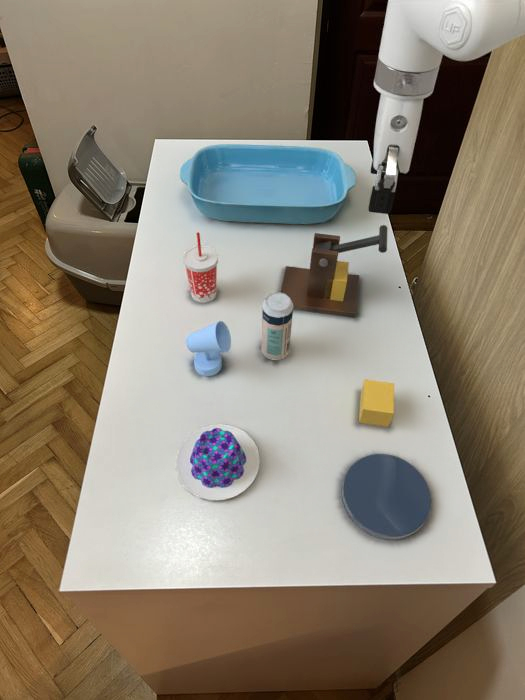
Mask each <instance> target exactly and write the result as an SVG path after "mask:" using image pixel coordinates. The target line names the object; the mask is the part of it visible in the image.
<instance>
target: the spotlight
mask: <svg viewBox="0 0 525 700" xmlns="http://www.w3.org/2000/svg"><path fill="white" fill-rule="evenodd" d="M185 338H186V339H185V343H186V347H187V349H188V351H189V352H190V353H195V355H194V357H193V364H194V370H195V372H196V373H197V374H199V375H200V376H203V377H213V376H215V375H217V374H218V373H219V372H220V371H221V370H222V366H223V362H222V355H221V353H224V354H226V353H228V352H230V350H231V346H232V337H231V332H230V330H229V327H228V325H227V324H226V323H225V322H224V321H223V320H219V321H217V322H215V323H211V324H209V325H207V326H205V327H202V328H201V329H199V330H198V329H197V330H196V331H194V332H192V333H189V334H187V335H186V337H185Z"/></svg>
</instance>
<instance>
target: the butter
mask: <svg viewBox="0 0 525 700" xmlns="http://www.w3.org/2000/svg"><path fill="white" fill-rule="evenodd" d="M349 264H350V262H349V261H341V260H337V265H336V271H335V277H334V280H333V282H332V284H333V285H332V284H331V285H330V283H331V282H329V281H328V279H327V282H328V283H327V284H326V285H327V286H326V288H327V289H326V290H325V293H326V294H325V295H326V296H327V298H328V297H329V296H330V298H329V300H337V301H343V299H344V294H345V289H346V284H347V276H348V274H349ZM328 285H329V286H328ZM331 286H332V290H331ZM328 288H330V289H329V291H330V292H328ZM329 293H330V294H331V295H330V294H329ZM327 294H329V296H328V295H327ZM326 296H324V298H326Z"/></svg>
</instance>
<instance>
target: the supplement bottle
mask: <svg viewBox="0 0 525 700" xmlns="http://www.w3.org/2000/svg"><path fill="white" fill-rule="evenodd" d="M261 309H262V310H261V311H262V314H261V316H262V317H261V347H260V352H261V353H262V355H263V356H264V357H265V358H267V359H269V360H272V361H280V360H283V359H285V358H286V357H287V356H288V355H289V354H290V346H291V338H292V337H291V336H292V324H293V313H294V310H293V303H292V301H291V299H290V298H289V297H288V296H287V295H286V294H284V293H281V292H279V291H276V292H273V293H272V292H271V293H269V294H268V295H267V296H266V297H265V298H264V300H263V301H262V304H261Z"/></svg>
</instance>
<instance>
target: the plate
mask: <svg viewBox="0 0 525 700" xmlns="http://www.w3.org/2000/svg"><path fill="white" fill-rule="evenodd" d="M341 497H342V502H343V506H344V508H345V510H346V512H347V514H348V516H349V518H350V519H351V520H352V522H353V523H354V524H355V525H356V526H357V527H358V528H360V529H361V530H362V531H364V532H366V534H369V535H371V536H373V537H377V538H378V539H383V540H390V541H391V540H392V541H393V540H401V539H404V538H407V537H410V536H412V535H414V534H415V533H417V532H418V531H419V530H420V529H421V528H422V527H423V525H424V524H425V522H426V521H427V519H428V517H429V514H430V513H431V506H432V495H431V491H430V489H429V485H428V483H427V481H426V479H425V478H424V476H423V475H422V474H421V473H420V471H419V470H418V469H417V468H416V467H415V466H414V465H413V464H411V463H410V462H409V461H407V460H405V459H403V458H401V457H398V456H395V455H393V454H387V453H374V454H369V455H366V456H364V457H362V458H359V459H358V460H356V461H355V462H354V463H353V464H352V465H351V466H350V467H349V468H348V471H347V472H346V474H345V476H344V480H343V483H342V487H341Z"/></svg>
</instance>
